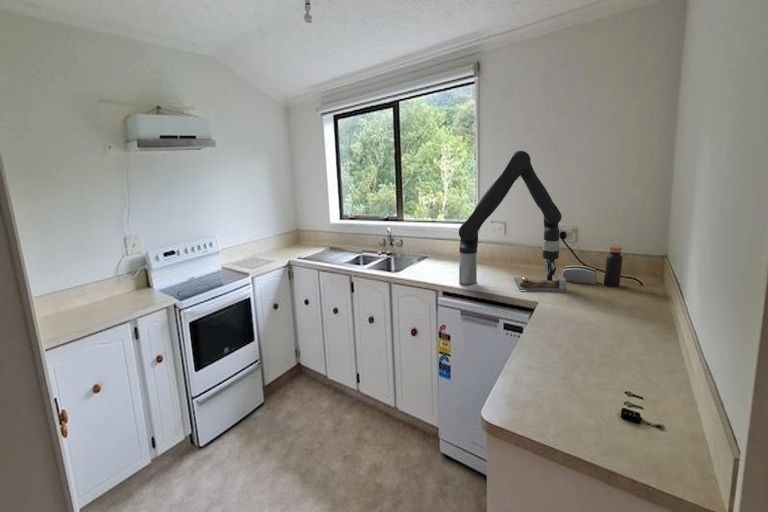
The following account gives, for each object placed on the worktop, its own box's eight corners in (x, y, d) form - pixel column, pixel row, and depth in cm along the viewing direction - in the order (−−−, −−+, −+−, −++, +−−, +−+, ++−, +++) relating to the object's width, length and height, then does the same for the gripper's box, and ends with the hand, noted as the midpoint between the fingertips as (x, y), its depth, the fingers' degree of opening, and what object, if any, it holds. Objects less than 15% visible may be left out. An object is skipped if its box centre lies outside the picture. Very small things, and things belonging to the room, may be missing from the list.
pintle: (522, 281, 185) (522, 278, 185) (521, 279, 188) (521, 277, 187) (528, 281, 185) (528, 278, 184) (527, 279, 187) (527, 277, 187)
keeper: (559, 289, 180) (559, 280, 179) (555, 284, 187) (556, 275, 186) (565, 289, 180) (566, 280, 179) (561, 284, 187) (562, 275, 185)
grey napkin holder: (597, 281, 193) (598, 265, 187) (596, 286, 189) (598, 271, 184) (562, 277, 201) (562, 262, 196) (560, 282, 198) (561, 267, 193)
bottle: (605, 282, 190) (610, 244, 185) (620, 284, 186) (625, 246, 181) (601, 285, 186) (606, 247, 181) (617, 288, 181) (622, 249, 176)
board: (519, 291, 184) (519, 288, 184) (514, 279, 201) (514, 277, 201) (566, 292, 180) (567, 289, 180) (557, 280, 197) (557, 278, 197)
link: (521, 287, 185) (521, 282, 184) (519, 284, 189) (519, 279, 189) (564, 287, 182) (565, 283, 181) (562, 284, 186) (562, 280, 185)
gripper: (539, 245, 190) (538, 277, 194) (546, 252, 177) (544, 286, 182) (555, 245, 188) (553, 277, 193) (562, 252, 176) (560, 286, 180)
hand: (549, 281), depth 187 cm, fingers closed
